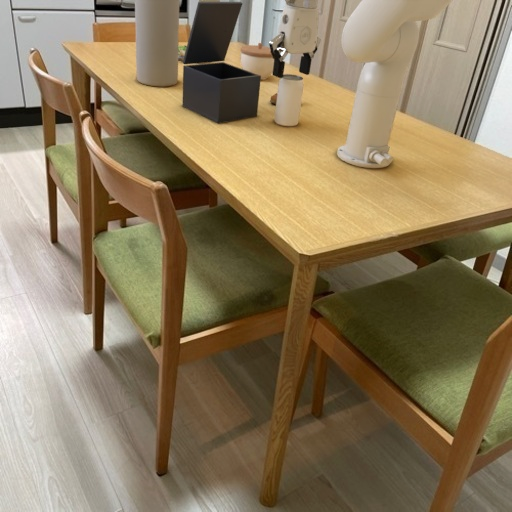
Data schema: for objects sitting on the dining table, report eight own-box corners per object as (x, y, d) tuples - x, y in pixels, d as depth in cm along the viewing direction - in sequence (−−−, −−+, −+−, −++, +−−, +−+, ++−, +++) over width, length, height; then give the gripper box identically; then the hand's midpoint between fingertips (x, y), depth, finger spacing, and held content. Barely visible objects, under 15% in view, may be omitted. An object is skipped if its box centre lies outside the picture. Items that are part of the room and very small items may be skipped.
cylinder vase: (129, 83, 156) (126, -10, 143) (146, 74, 167) (145, -13, 153) (168, 89, 154) (169, -4, 141) (183, 80, 165) (185, -7, 151)
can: (269, 122, 137) (275, 76, 131) (280, 117, 142) (286, 72, 136) (291, 128, 135) (298, 81, 129) (301, 123, 140) (308, 77, 134)
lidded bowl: (280, 82, 176) (285, 47, 170) (246, 82, 171) (249, 46, 165) (266, 72, 186) (270, 39, 180) (233, 72, 181) (235, 38, 175)
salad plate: (200, 67, 183) (201, 53, 180) (155, 58, 187) (155, 44, 184) (222, 58, 198) (222, 45, 196) (180, 50, 203) (180, 37, 200)
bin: (257, 116, 141) (261, 75, 135) (218, 123, 133) (220, 80, 127) (220, 100, 150) (223, 61, 144) (182, 106, 142) (183, 65, 136)
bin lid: (242, 3, 132) (230, -8, 134) (200, 3, 124) (187, -9, 126) (224, 61, 144) (213, 49, 146) (184, 64, 136) (173, 52, 138)
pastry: (279, 108, 149) (280, 95, 147) (264, 102, 154) (265, 88, 152) (302, 105, 155) (304, 92, 153) (287, 99, 159) (289, 86, 157)
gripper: (287, 4, 116) (277, 82, 125) (337, 4, 126) (324, 76, 135) (264, -2, 120) (256, 74, 129) (314, -2, 130) (303, 68, 140)
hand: (291, 75), depth 132 cm, fingers open, 9 cm apart
